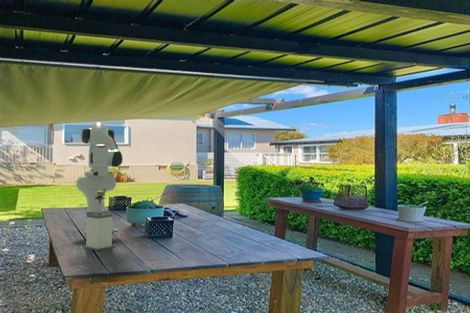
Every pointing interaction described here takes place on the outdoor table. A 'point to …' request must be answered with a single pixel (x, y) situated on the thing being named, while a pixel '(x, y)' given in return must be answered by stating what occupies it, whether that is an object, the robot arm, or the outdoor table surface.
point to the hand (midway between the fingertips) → (99, 196)
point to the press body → (99, 232)
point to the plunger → (100, 200)
